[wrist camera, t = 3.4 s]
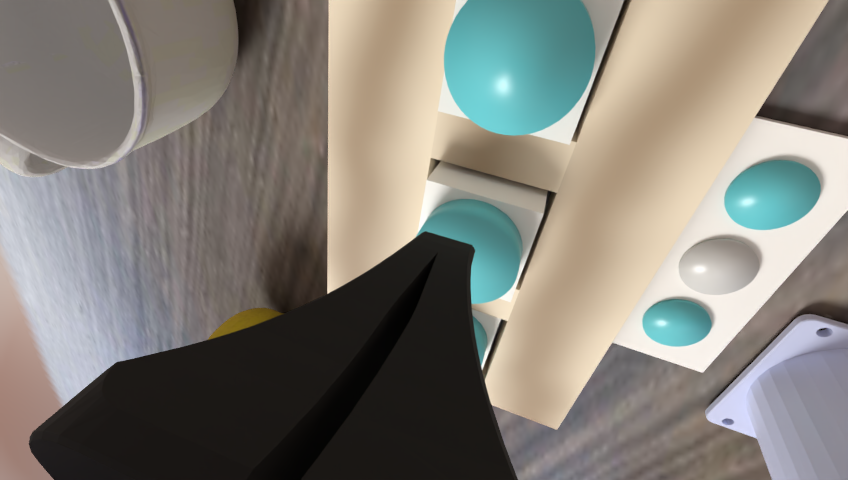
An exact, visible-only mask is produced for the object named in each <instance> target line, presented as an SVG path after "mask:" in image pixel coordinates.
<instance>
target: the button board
mask: <svg viewBox="0 0 848 480" xmlns="http://www.w3.org/2000/svg"><path fill="white" fill-rule="evenodd" d="M828 1H829V0H624V2H623V4H622V7H621V10H620V12H619V15H618V18H617V20H616V23H615V26H614V28H613V31H612V33H611V36H610V39H609V41H608V44H607V47H606V49H605V52H604V55H603V57H602V60H601V63H600V65H599V68H598V71H597V73H596V76H595V79H594V81H593V84H592V87H591V89H590V92H589V95H588V97H587V100H586V103H585V105H584V108H583V111H582V113H581V116H580V119H579V121H578V124H577V127H576V129H575V132H574V135H573V137H572V140H571V143H570V145H568V144H564V143H560V142H557V141H553V140H549V139H545V138H541V137H537V136H533V135H529V134H526V135H515V136H513V135H503V134H498V133H494V132H491V131H488V130H486V129H484V128H482V127H480V126H479V125H477V124H475V123H474V122H473V121H471V120H470V119H467V118H463V117H459V116H455V115H451V114H447V113H443V112H439V111H438V107H439V101H440V95H441V88H442V82H443V76H444V51H445V44H446V40H447V36H448V33H449V30H450V27H451V25H452V22H453V16H454V10H455V3H456V0H329V65H328V270H327V294H328V293H330V292H332V291H334V290H336V289H337V288H339V287H341V286H343V285H344V284H346V283H348V282H350V281H351V280H353V279H355V278H356V277H358V276H360V275H362V274H363V273H365V272H367V271H368V270H370V269H371V268H373V267H374V266H376V265H377V264H379V263H380V262H382V261H383V260H385V259H386V258H388V257H389V256H391V255H392V254H394V253H395V252H396V251H398V250H399V249H401V248H402V247H403V246H405V245H406V244H407V243H409V242H410V241H411V240H413V239H414V238H415V237H416V235H417V234H418V228H419V222H420V216H421V210H422V204H423V198H424V192H425V186H426V180H427V179H428V177H429V176H430V175H431V173H432V172H433V171H434V169H435V168H436V167H437V165H438V164H439V163H440V162H441V161H444V162H448V163H452V164H455V165H459V166H462V167H466V168H470V169H473V170H477V171H480V172H484V173H488V174H491V175H495V176H498V177H502V178H505V179H509V180H513V181H516V182H520V183H523V184H527V185H531V186H534V187H538V188H541V189H545V190H548V193H547V198H546V204H545V210H544V214H543V217H542V220H541V222H540V225H539V228H538V230H537V233H536V236H535V238H534V241H533V244H532V246H531V249H530V252H529V254H528V257H527V260H526V262H525V265H524V268H523V270H522V273H521V276H520V278H519V281H518V284H517V286H516V289H515V292H514V294H513V297H512V300H511V302H508V301H505V300H502V299H499V298H498V299H496V300H494V301H491V302H487V303H481V304H472V309H474V310H476V311H479V312H482V313H485V314H488V315H491V316H494V317H497V318H500V319H501V321H500V323H499V326H498V329H497V332H496V334H495V337H494V340H493V342H492V345H491V348H490V351H489V353H488V356H487V359H486V361H485V364H484V367H483V369H482V372H483V376H484V380H485V384H486V388H487V391H488V395H489V399H490V402H491V405H493V406H496V407H498V408H501V409H504V410H506V411H509V412H512V413H514V414H517V415H519V416H522V417H525V418H527V419H530V420H533V421H535V422H538V423H540V424H543V425H546V426H548V427H551V428H554V429H556V430H557V429H558V427H559V426H560V424H561V422H562V421H563V419H564V418H565V416H566V415H567V413H568V411H569V410H570V408H571V407H572V405H573V404H574V402H575V400H576V399H577V397H578V396H579V394H580V392H581V391H582V389H583V388H584V386H585V385H586V383H587V381H588V380H589V378H590V377H591V375H592V373H593V372H594V370H595V369H596V367H597V366H598V364H599V362H600V361H601V359H602V358H603V356H604V355H605V353H606V351H607V350H608V348H609V347H610V345H611V343H612V342H613V340H614V339H615V337H616V336H617V334H618V332H619V331H620V329H621V328H622V326H623V325H624V323H625V321H626V320H627V318H628V317H629V315H630V313H631V312H632V310H633V309H634V307H635V306H636V304H637V302H638V301H639V299H640V298H641V296H642V294H643V293H644V291H645V290H646V288H647V287H648V285H649V283H650V282H651V280H652V279H653V277H654V276H655V274H656V272H657V271H658V269H659V268H660V266H661V264H662V263H663V261H664V260H665V258H666V257H667V255H668V253H669V252H670V250H671V249H672V247H673V246H674V244H675V242H676V241H677V239H678V238H679V236H680V234H681V233H682V231H683V230H684V228H685V227H686V225H687V223H688V222H689V220H690V219H691V217H692V216H693V214H694V212H695V211H696V209H697V208H698V206H699V204H700V203H701V201H702V200H703V198H704V197H705V195H706V193H707V192H708V190H709V189H710V187H711V185H712V184H713V182H714V181H715V179H716V178H717V176H718V174H719V173H720V171H721V170H722V168H723V167H724V165H725V163H726V162H727V160H728V159H729V157H730V155H731V154H732V152H733V151H734V149H735V148H736V146H737V144H738V143H739V141H740V140H741V138H742V137H743V135H744V133H745V132H746V130H747V129H748V127H749V125H750V124H751V122H752V121H753V119H754V118H755V116H756V114H757V113H758V111H759V110H760V108H761V106H762V105H763V103H764V102H765V100H766V99H767V97H768V95H769V94H770V92H771V91H772V89H773V88H774V86H775V84H776V83H777V81H778V80H779V78H780V76H781V75H782V73H783V72H784V70H785V69H786V67H787V65H788V64H789V62H790V61H791V59H792V58H793V56H794V54H795V53H796V51H797V50H798V48H799V46H800V45H801V43H802V42H803V40H804V39H805V37H806V35H807V34H808V32H809V31H810V29H811V27H812V26H813V24H814V23H815V21H816V20H817V18H818V16H819V15H820V13H821V12H822V10H823V9H824V7H825V5H826V4H827V2H828Z"/></svg>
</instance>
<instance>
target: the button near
mask: <svg viewBox="0 0 848 480" xmlns="http://www.w3.org/2000/svg"><path fill="white" fill-rule="evenodd" d="M623 2H624V0H456V3H455V10H454V16H453V22H452V25H451V27H450V30H449V33H448V36H447V40H446V44H445V51H444V76H443V82H442V88H441V95H440V101H439V107H438V111H439V112H443V113H447V114H451V115H455V116H459V117H463V118H467V119H470V120H471V121H473V122H474V123H475V124H477V125H479V126H480V127H482V128H484V129H486V130H488V131H491V132H494V133H498V134H503V135H513V136H515V135H526V134H529V135H533V136H537V137H541V138H545V139H549V140H553V141H557V142H560V143H564V144H568V145H570V143H571V140H572V137H573V135H574V132H575V129H576V127H577V124H578V121H579V119H580V116H581V113H582V111H583V108H584V105H585V103H586V100H587V97H588V95H589V92H590V89H591V87H592V84H593V81H594V79H595V76H596V73H597V71H598V68H599V65H600V63H601V60H602V57H603V55H604V52H605V49H606V47H607V44H608V41H609V39H610V36H611V33H612V31H613V28H614V26H615V23H616V20H617V18H618V15H619V12H620V10H621V7H622V4H623Z"/></svg>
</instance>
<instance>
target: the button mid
mask: <svg viewBox="0 0 848 480" xmlns="http://www.w3.org/2000/svg"><path fill="white" fill-rule="evenodd" d="M547 193H548V190H545V189H541V188H538V187H534V186H531V185H527V184H523V183H520V182H516V181H513V180H509V179H505V178H502V177H498V176H495V175H491V174H488V173H484V172H480V171H477V170H473V169H470V168H466V167H462V166H459V165H455V164H452V163H448V162H444V161H441V162H440V163H439V164H438V165H437V167H436V168H435V169H434V171H433V172H432V173H431V175H430V176H429V177H428V179H427V180H426V186H425V192H424V198H423V204H422V210H421V216H420V222H419V228H418V234H417V235H416V237H417V236H418V235H419V234H421V233H423V232H425V231H427V232H430V233H433V234H437V235H440V236H444V237H447V238H450V239H454V240H457V241H461V242H464V243H467V244H471V245H473V247H474V249H475V254H474V258H473V262H472V266H471V303H472V304H481V303H487V302H491V301H494V300H496V299H498V298H499V299H502V300H505V301H508V302H511V300H512V297H513V294H514V292H515V289H516V286H517V284H518V281H519V278H520V276H521V273H522V270H523V268H524V265H525V262H526V260H527V257H528V254H529V252H530V249H531V246H532V244H533V241H534V238H535V236H536V233H537V230H538V228H539V225H540V222H541V220H542V217H543V214H544V210H545V204H546V198H547Z"/></svg>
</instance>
